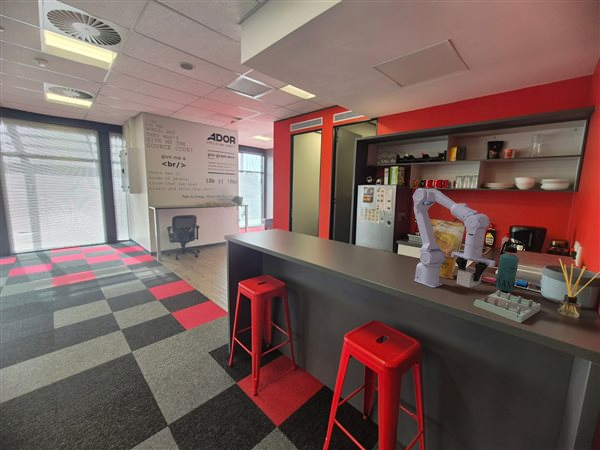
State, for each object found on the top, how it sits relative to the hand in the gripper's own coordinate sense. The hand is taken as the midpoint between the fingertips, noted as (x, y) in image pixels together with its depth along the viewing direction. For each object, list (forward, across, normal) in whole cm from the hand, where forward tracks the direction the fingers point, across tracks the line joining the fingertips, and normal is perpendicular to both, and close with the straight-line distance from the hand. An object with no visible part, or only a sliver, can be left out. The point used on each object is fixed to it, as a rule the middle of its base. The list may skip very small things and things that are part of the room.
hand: (469, 278), depth 98 cm
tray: (+8, +11, +5) cm, 15 cm away
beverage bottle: (+9, +4, +23) cm, 25 cm away
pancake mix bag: (+9, -23, +18) cm, 30 cm away
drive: (+2, 0, 0) cm, 2 cm away
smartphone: (+9, -9, +34) cm, 36 cm away
